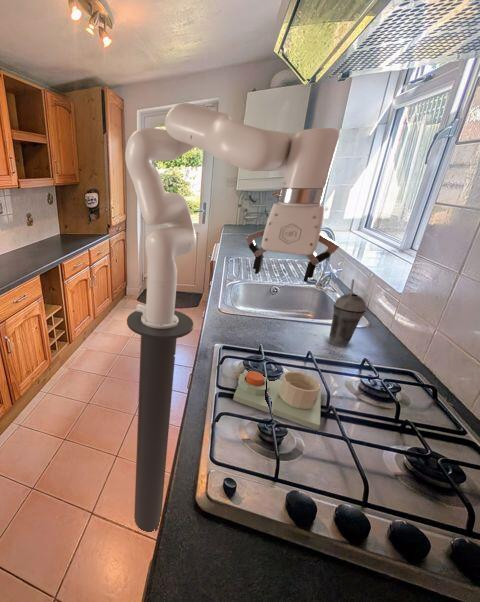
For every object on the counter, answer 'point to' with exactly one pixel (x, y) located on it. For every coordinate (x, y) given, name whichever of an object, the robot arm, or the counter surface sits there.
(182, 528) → the counter surface
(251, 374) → the button
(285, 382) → the bowl
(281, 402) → the scale
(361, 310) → the beverage cup
